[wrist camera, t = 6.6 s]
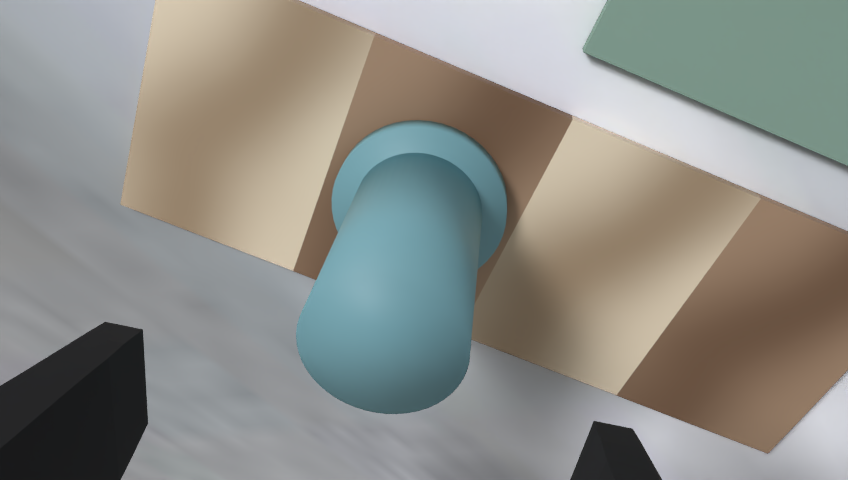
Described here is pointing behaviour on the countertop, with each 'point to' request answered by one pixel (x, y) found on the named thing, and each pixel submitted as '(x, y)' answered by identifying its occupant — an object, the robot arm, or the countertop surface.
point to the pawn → (403, 267)
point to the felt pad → (741, 60)
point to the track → (526, 213)
